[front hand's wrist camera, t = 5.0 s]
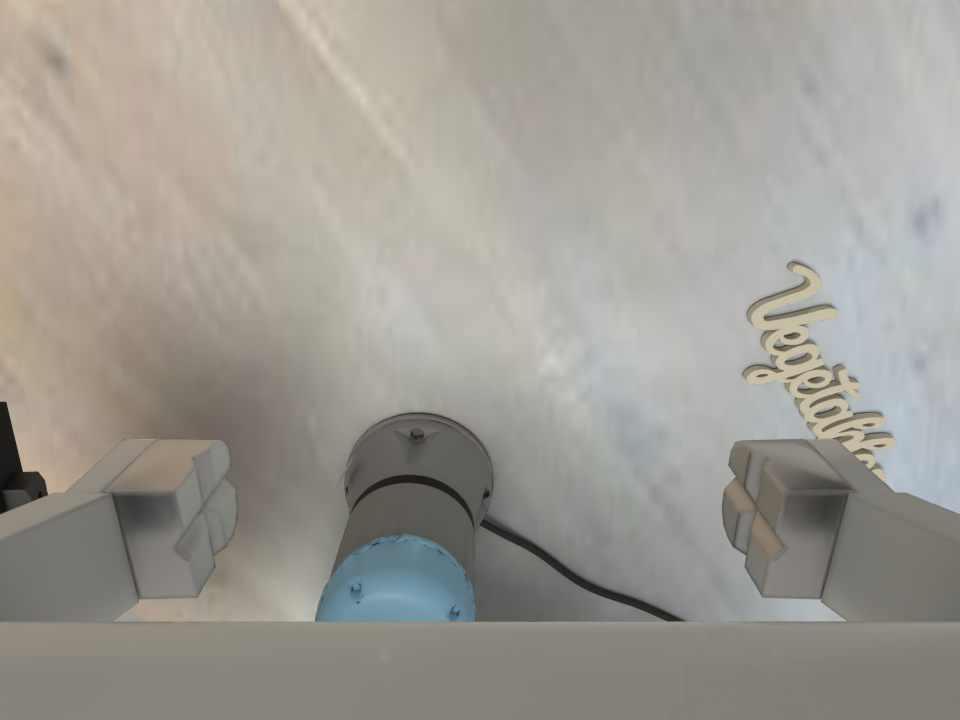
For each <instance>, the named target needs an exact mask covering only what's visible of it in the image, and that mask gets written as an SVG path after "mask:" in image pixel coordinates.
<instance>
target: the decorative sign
mask: <svg viewBox="0 0 960 720" xmlns="http://www.w3.org/2000/svg"><path fill="white" fill-rule="evenodd" d="M788 269H789V270H790V271H792V272H794V273H798V274H801V275H803V276H804V278H805V283H804V284H803V285H802V286H800V287H798V288H795V289H792V290H789V291H786V292H783V293H780V294H778V295H775V296H772V297H769V298H766V299H763V300H761V301H759V302H757V303H756V304H754V305H753V306H752V307H751V308H750V309H749V311H748V313H747V318H748V320H749V322H750V323H751V324H752V325H754V326H755V327H756V328H758V329H761V330H768V331H767V332H766V333H765V334H764V335H763V336H762V339H761V344H762V347H763V348H764V349H765V350H766V351H767V352H769V353H770V354H772V357H771V361H772V363H773V364H774V365H775V366H777V367H778V368H777V369H771V368H769V367H766V366H752V367H750V368H748V369H747V370H745V372H744V373H743V377H744V378H745V379H746V380H747V381H748V382H749V383H751V384H761V383H766V382H771V381H776V380H777V381H779V382H783V383H785V387H786V390H787V391H788V392H789V393H790V394H791V395H793V396H794V397H796V398H797V399H796V401H795V405H796V407H797V408H798V409H799V410H800V415H801V416H802V417H803V418H804V419H805V420H806V421H808V422H809V423H808V428H809V429H810V430H811V431H812V432H813V433H814V434H815V436H816V437H817V439H825V438H831V439H833V438H835V437H840V436H842V437H840V438H837V439H834V440H838V441H839V442H840V443H841V444H843V445H844V446H845V447H846V448H847V449H848V450H849V451H850V452H851V453H852V454H854V455H855V456H856V457H857V458H858V459H859V460H860V461H861V462H862V463H863V464H865V465H866V466H867V467H868V468H869V469H870V470H871V471H872V472H873V473H874V474H876V475H877V476H878V477H879V478H880V479H881V480H882V481H884V480H885V478H886V474H885V472H884V471H883V470H882V469H881V468H879V467H878V466H877V465H875V462H876V457H875V456H874V455H872V454H871V453H870V452H869V451H867V450H864V449H861V448H865V449H868V450H884V449H889V448H892V447H894V446H895V445H896V440H895V439H894V438H893V437H892V436H890V435H889V434H886V433H877V434H869V435H864V433H863V432H861V431H860V430H859V429H873V428H878V427H881V426H883V425H885V424H886V419H885V418H884V417H883V416H881V415H880V414H878V413H861V414H855V415H853V412H852V411H851V410H849V409H848V402H847V401H846V400H845V399H844V398H842V397H841V396H839V395H836V394H835V393H838V392H841V391H845V392H846V393H848V394H849V395H850V396H852V397H854V398H856V399H860V398H861V396H860V395H858V394H857V393H856V392H855V391H854V390H856V389H857V390H859V388H860V383H859V382H858V381H856V380H855V379H851V378H848V374H847V369H846V368H845V367H843V366H842V365H838V366H836V367H834V368H833V372H834V375H835V378H836V381H833V382H830V381H831V379H832V374H831V373H830V372H829V371H828V370H826V369H825V368H824V367H821V366H822V365H824V362H823V360H822V358H821V357H819V356H818V355H819V349H818V347H817V346H816V345H814V344H813V343H812V342H810V341H805V340H806V339H807V338H808V336H809V330H808V329H807V328H806V327H805V326H803V324H808V323H814V322H819V321H823V320H828V319H838V318H839V313H838V311H837V310H835V309H833V308H832V307H830V306H827V305H823V306H818V307H813V308H810V309H806V310H802V311H798V312H794V313H790V314H785V315H779V316H773V317H767V318H764V315H765V314H766V313H768V312H770V311H772V310H774V309H776V308H779V307H782V306H785V305H788V304H791V303H794V302H797V301H800V300H803V299H806V298H808V297H810V296H812V295H814V294H815V293H817V292H818V291H819V289H820V287H821V280H820V278H819V277H818V276H817V275H816V274H815V273H814V272H813V271H811V270H810V269H808V268H806V267H804V266H802V265H799V264H796V263H790V264H789V265H788ZM793 332H796V333H794V334H793V335H790V336H784V335H786V334H789V333H793ZM777 339H778V340H779V341H781V342H782V343H784V344H787V345H786V346H784V347H782V348H775V347H773V345H774V343H775V342H776V340H777ZM799 353H807V355H806V356H805V357H803V358H801V359H798V360H795V361H789V362H786V360H787V359H788V358H790V357H792V356H794V355H796V354H799ZM814 377H818V378H815V379H812V380H808V379H810V378H814ZM801 383H803V384H804V385H805V386H807V387H809V388H812V389H809V390H797V388H798V386H799V385H800V384H801ZM830 406H836V408H835V409H833V410H831V411H828V412H825V413H821V414H815V413H816V412H818V411H819V410H821V409H823V408H826V407H830Z"/></svg>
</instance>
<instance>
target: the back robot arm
mask: <svg viewBox="0 0 960 720" xmlns="http://www.w3.org/2000/svg"><path fill="white" fill-rule="evenodd" d="M345 472H346V473H345ZM344 474H345V495H346V500H347V503H348V506H349V509H350V511H349V514H350V517H349V520H348V523H347V526H346V529H345V532H344V535H343V538H342V541H341V545H340V548H339V551H338V554H337V557H336V560H335V563H334V566H333V569H332V573H331V576H330V579H329V581H328V583H327V585H326V586H325V588H324V590H323V593H322V595H321V598H320V601H319V604H318V608H317V613H316V618H315V622H476V621H475V612H476V605H475V597H474V534H475V532H476V530H477V529H478V527H479V525H480V526H482V527H484V528H485V529H487V530H489V531H491V532H493V533H495V534H497V535H499V536H501V537H503V538H505V539H507V540H509V541H511V542H513V543H515V544H517V545H519V546H521V547H523V548H525V549H527V550H528V551H530V552H532V553H533V554H535V555H537V556H538V557H540V558H541V559H542V560H544V561H545V562H547V563H548V564H549V565H551V566H552V567H553V568H554V569H556V570H557V571H558V572H560V573H561V574H562V575H564V576H565V577H566V578H568V579H569V580H571V581H572V582H574V583H575V584H577V585H579V586H581V587H582V588H584V589H586V590H588V591H590V592H593V593H595V594H597V595H600V596H603V597H605V598H608V599H611V600H614V601H617V602H621V603H624V604H627V605H630V606H633V607H636V608H638V609H641V610H643V611H646V612H648V613H650V614H652V615H655V616H657V617H659V618H661V619H663V620H666V621H668V622H682V621H680V620H678V619H677V618H675V617H672V616H670V615H668V614H666V613H664V612H662V611H660V610H657V609H655V608H653V607H651V606H648V605H646V604H644V603H641V602H639V601H636V600H633V599H630V598H627V597H624V596H621V595H617V594H614V593H611V592H608V591H606V590H603V589H600V588H598V587H596V586H593V585H591V584H589V583H587V582H586V581H584V580H582V579H580V578H579V577H577V576H575V575H574V574H572V573H571V572H570V571H568V570H567V569H566V568H564V567H563V566H562V565H560V564H559V563H558V562H557V561H555V560H554V559H553V558H551V557H550V556H549V555H547V554H546V553H545V552H543V551H542V550H540V549H539V548H537V547H535V546H534V545H532V544H530V543H528V542H526V541H525V540H523V539H521V538H518V537H516V536H514V535H512V534H510V533H508V532H506V531H504V530H503V529H501V528H499V527H497V526H495V525H493V524H491V523H489V522H487V521H486V520H484V519H483V518H484V516H485V514H486V512H487V510H488V508H489V504H490V500H491V496H492V489H493V477H492V468H491V464H490V460H489V458H488V455H487V453H486V451H485V449H484V448H483V446H482V445H481V443H480V442H479V441H478V440H477V439H476V438H475V437H474V436H473V434H471V433H470V432H469V431H468V430H466V429H465V428H464V427H462V426H461V425H459V424H457V423H455V422H453V421H451V420H449V419H446V418H443V417H439V416H435V415H430V414H405V415H400V416H396V417H392V418H389V419H387V420H384V421H382V422H380V423H378V424H377V425H375V426H374V427H372V428H371V429H370V430H368V431H367V432H366V433H365V434H364V435H363V436H362V437H361V438H360V440H359V441H358V442H357V444H356V445H355V447H354V449H353V451H352V453H351V456H350V458H349V461H348V464H347V467H346V469H345V471H344V473H343V474H342V476H341V478H340V480H339V482H338V485H339V483H340V481H341V479H342V477H343V476H344ZM338 485H337V486H338ZM336 488H337V487H336ZM47 495H48V493H47V488H46V484H45V480H44V479H43V477H42V476H41V475H40V474H39V472H23V470H22V466H21V462H20V458H19V454H18V449H17V445H16V441H15V437H14V433H13V428H12V424H11V420H10V416H9V411H8V407H7V403H6V402H0V514H2V513H5V512H7V511H10V510H12V509H15V508H17V507H20V506H22V505H25V504H27V503H30V502H32V501H35V500H37V499H40V498H42V497H45V496H47Z"/></svg>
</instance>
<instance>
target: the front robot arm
mask: <svg viewBox="0 0 960 720" xmlns="http://www.w3.org/2000/svg"><path fill="white" fill-rule="evenodd" d="M231 465H232V464H231V459H230V454H229V450H228V446H227V445H226V444H225V443H224V442H223V441H222V440H182V439H157V438H153V439H128V440H122V441H121V442H120V443H119V444H118V445H117V446H115V447H114V448H113V449H112V450H111V451H110V452H109V453H108V454H107V455H105V456H104V457H103V458H102V459H101V460H100V461H99V462H98V463H97V464H96V465H94V466H93V467H92V468H91V469H90V470H89V471H88V472H87V473H86V474H85V475H83V476H82V477H81V478H80V479H79V480H78V481H77V482H76V483H75V484H74V485H72V486H71V487H70V488H69V489H68V490H67V491H66V492H65V493H52V494H50V495H47V496H45V497H42V498H40V499H37V500H35V501H32V502H30V503H27V504H25V505H22V506H20V507H17V508H15V509H12V510H10V511H7V512H5V513H2V514H0V720H960V514H958V513H955V512H953V511H950V510H948V509H945V508H943V507H940V506H938V505H935V504H933V503H930V502H928V501H925V500H923V499H920V498H918V497H915V496H913V495H910V494H908V493H895V492H894V491H893V490H892V489H891V488H890V487H889V486H888V485H887V484H885V483H884V482H883V481H882V480H881V479H880V478H879V477H878V476H877V475H876V474H874V473H873V472H872V471H871V470H870V469H869V468H868V467H867V466H866V465H865V464H863V463H862V462H861V461H860V460H859V459H858V458H857V457H856V456H855V455H854V454H852V453H851V452H850V451H849V450H848V449H847V448H846V447H845V446H844V445H843V444H841V443H840V442H839V441H838V440H834V439H831V438H825V439H782V440H743V441H737V442H735V443H734V445H733V448H732V450H731V453H730V459H729V464H728V465H729V467H730V469H731V470H732V472H733V473H734V475H735V476H736V477H735V478H734V480H733V481H732V482H731V483H730V484H729V485H728V486H727V487H726V488H725V489H724V495H723V502H722V515H723V525H724V528H725V531H726V534H727V537H728V539H729V541H730V542H731V544H732V546H733V547H734V548H735V549H737V550H739V551H740V552H742V553H743V554H745V555H747V556H746V561H745V568H746V570H747V572H748V573H749V575H750V577H751V579H752V580H753V582H754V584H755V585H756V587H757V589H758V590H759V592H760V594H761V595H762V597H763V598H794V599H822V600H821V602H822V603H823V604H825V605H826V606H827V607H829V608H830V609H831V610H833V611H834V612H835V613H837V614H838V615H839V616H841V617H842V618H844V619H845V620H846V621H848V622H113V621H114V620H115V619H117V618H118V617H119V616H121V615H122V614H123V613H125V612H126V611H127V610H129V609H130V608H132V607H133V606H134V605H136V604H137V603H138V602H139V600H138V599H165V598H197V597H198V596H199V594H200V592H201V591H202V589H203V587H204V585H205V584H206V582H207V580H208V579H209V577H210V575H211V574H212V572H213V570H214V568H215V561H214V556H213V555H215V554H217V553H218V552H220V551H221V550H223V549H225V548H226V547H227V546H228V544H229V542H230V540H231V539H232V537H233V535H234V531H235V527H236V523H237V518H238V500H237V494H236V489H235V488H234V487H233V486H232V485H231V484H230V483H229V482H228V481H227V480H226V478H225V477H224V476H225V475H226V473H227V472H228V470H229V469H230V467H231Z"/></svg>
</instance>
